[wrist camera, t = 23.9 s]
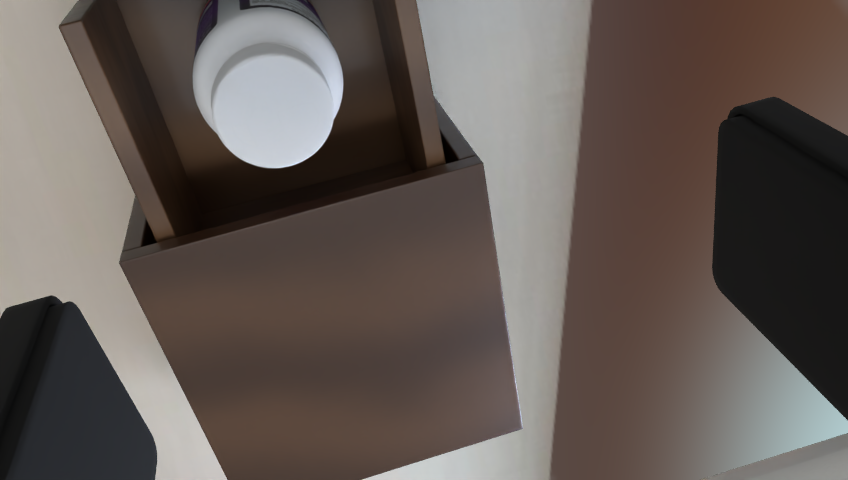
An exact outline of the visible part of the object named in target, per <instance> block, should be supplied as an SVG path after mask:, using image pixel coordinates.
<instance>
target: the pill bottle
mask: <svg viewBox="0 0 848 480" xmlns="http://www.w3.org/2000/svg"><path fill="white" fill-rule="evenodd" d="M193 91H194V96H195V99H196V103H197V105H198V108H199V110H200V112H201V114H202V116H203V117H204V119H205V121H206V122H207V123H208V125H209V126H210V127H211V128H212V129H213V130H214V131H215V132H216V133H217V134H218V136H219V138H220V139H221V141H222V142H223V144H224V145H225V146H226V147H227V148H228V149H229V150H230V151H231V152H232V153H233V154H234V155H235V156H237V157H238V158H240V159H241V160H243V161H245V162H247V163H250V164H252V165H255V166H259V167H265V168H283V167H288V166H292V165H295V164H298V163H300V162H303V161H304V160H306V159H308V158H309V157H311V156H312V155H313V154H315V153H316V152H317V151H318V150H319V149H320V148H321V147H322V145H323V144H324V142H325V141H326V139H327V138H328V136H329V134H330V131H331V128H332V125H333V120H334V118H335V117H336V114H337V112H338V110H339V107H340V104H341V100H342V95H343V73H342V68H341V64H340V61H339V58H338V55H337V52H336V50H335V48H334V46H333V44H332V42H331V40H330V38H329V36H328V34H327V32H326V30H325V28H324V25H323V23H322V21H321V19H320V17H319V15H318V13H317V11H316V10H315V8H314V7H313V5H312V4H311V2H310V1H309V0H208V2H207V3H206V5H205V7H204V9H203V11H202V13H201V16H200V19H199V23H198V28H197V37H196V47H195V55H194V63H193Z"/></svg>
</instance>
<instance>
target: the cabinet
mask: <svg viewBox="0 0 848 480" xmlns="http://www.w3.org/2000/svg"><path fill="white" fill-rule="evenodd" d="M434 102H435V107H436V113H437V118H438V124H439V129H440V135H441V140H442V146H443V151H444V157H445V162H446V164H444V165H441V166H437V167H433V168H430V169H426V170H422V171H419V172H415V173H411V174H408V175H404V176H400V177H397V178H393V179H389V180H386V181H382V182H378V183H375V184H371V185H367V186H364V187H360V188H356V189H353V190H349V191H345V192H342V193H338V194H334V195H331V196H327V197H323V198H320V199H316V200H312V201H309V202H305V203H301V204H298V205H294V206H290V207H287V208H283V209H279V210H276V211H272V212H268V213H265V214H261V215H257V216H254V217H250V218H246V219H243V220H239V221H235V222H232V223H228V224H224V225H221V226H217V227H213V228H210V229H206V230H202V231H199V232H195V233H191V234H188V235H184V236H180V237H177V238H173V239H169V240H166V241H162V242H158V243H157V241H156V239H155V237H154V235H153V232H152V230H151V228H150V226H149V224H148V222H147V219H146V217H145V215H144V213H143V211H142V208H141V206H140V204H139V202H138V200H137V197H136V195H135V199H134V204H133V208H132V212H131V216H130V220H129V225H128V229H127V233H126V237H125V241H124V246H123V250H122V253H121V257H120V261H119V264H120V266H121V268H122V270H123V272H124V274H125V276H126V278H127V280H128V282H129V284H130V286H131V288H132V290H133V292H134V294H135V296H136V298H137V300H138V302H139V304H140V306H141V308H142V310H143V312H144V314H145V316H146V318H147V320H148V322H149V324H150V326H151V328H152V330H153V332H154V334H155V336H156V338H157V340H158V342H159V344H160V346H161V348H162V350H163V352H164V354H165V356H166V358H167V360H168V362H169V364H170V366H171V368H172V370H173V372H174V374H175V376H176V378H177V380H178V382H179V384H180V386H181V388H182V390H183V392H184V394H185V396H186V398H187V400H188V402H189V404H190V406H191V408H192V410H193V412H194V413H195V415H196V417H197V419H198V421H199V423H200V425H201V427H202V429H203V431H204V433H205V435H206V437H207V439H208V441H209V443H210V445H211V447H212V449H213V451H214V453H215V455H216V457H217V459H218V461H219V463H220V465H221V467H222V469H223V471H224V473H225V475H226V477H227V479H228V480H362V479H365V478H368V477H371V476H374V475H377V474H381V473H384V472H387V471H390V470H393V469H397V468H400V467H403V466H406V465H409V464H412V463H416V462H419V461H422V460H425V459H428V458H431V457H435V456H438V455H441V454H444V453H447V452H450V451H454V450H457V449H460V448H463V447H466V446H469V445H473V444H476V443H479V442H482V441H485V440H488V439H492V438H495V437H498V436H501V435H504V434H508V433H511V432H514V431H517V430H520V429H523V426H522V419H521V412H520V406H519V399H518V392H517V386H516V379H515V372H514V366H513V359H512V352H511V346H510V339H509V332H508V326H507V319H506V312H505V306H504V299H503V292H502V286H501V279H500V272H499V266H498V259H497V252H496V246H495V239H494V232H493V226H492V219H491V212H490V206H489V199H488V192H487V186H486V179H485V172H484V166H483V163H482V161H481V160H480V158H479V157H478V156H477V155H476V153H475V152H474V151H473V149H472V148H471V147H470V145H469V144H468V142H467V141H466V140H465V138H464V137H463V136H462V134H461V133H460V131H459V130H458V129H457V127H456V126H455V125H454V123H453V122H452V120H451V119H450V118H449V116H448V115H447V114H446V112H445V111H444V109H443V108H442V107H441V105H440V104H439V103H438V101H437V100H436V99H435V97H434Z"/></svg>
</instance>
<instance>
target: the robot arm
mask: <svg viewBox="0 0 848 480" xmlns="http://www.w3.org/2000/svg"><path fill="white" fill-rule="evenodd" d="M717 155H718V156H717V176H716V198H715V220H714V242H713V264H712V268H713V276H714V280H715V282H716V285H717V286H718V288H719V290H720V291H721V292H722V293H723V294H724V295H725V296H726V297H727V298H728V299H729V300H730V302H732V304H734V306H735V307H736V308H737V309H738V310H739V311H740V312H741V313H742V314H743V315H744V316H746V318H747V319H748V320H749V321H750V322H751V323H752V324H753V325H754V326H755V327H756V328H757V329H758V330H759V331H760V332H761V333H762V334H763V335H764V336H765V337H766V338H767V339H768V340H769V341H770V342H771V343H772V344H773V345H774V346H775V347H776V348H777V349H778V350H779V351H780V352H781V353H782V354H783V355H784V356H785V357H786V358H787V359H788V360H789V361H790V362H791V363H792V364H793V365H794V366H795V367H796V368H797V369H798V370H799V371H800V372H801V373H802V374H803V375H804V376H805V377H806V378H807V380H809V382H811V384H812V385H813V386H814V387H815V388H816V389H817V390H818V391H819V392H820V393H821V394H822V395H823V396H824V397H825V398H826V399H827V400H828V401H829V402H830V403H831V404H832V405H833V406H834V407H835V408H836V409H837V410H838V411H839V412H840V413H841V414H842V415H843V416H844V417H845V418H846V419H847V420H848V136H847V135H845V134H843V133H841V132H840V131H838V130H836V129H834V128H832V127H831V126H829V125H827V124H825V123H823V122H821V121H819V120H818V119H815V118H814V117H812V116H810V115H809V114H807V113H805V112H803V111H801V110H799V109H798V108H796V107H794V106H792V105H790V104H789V103H787V102H785V101H783V100H781V99H779V98H776V97H770V98H766V99H762V100H759V101H755V102H752V103H748V104H745V105H741V106H737V107H734V108H733V109H732V110H731V111H730V113H729V115H728V119H727V120H724V121H723V122H722V123H721V125H720V127H719V132H718V154H717ZM156 465H157V450H156V445H155V442H154V439H153V436H152V434H151V432H150V431H149V429H148V427H147V425H146V424H145V422H144V420H143V419H142V417H141V415H140V413H139V412H138V410H137V408H136V406H135V405H134V403H133V401H132V399H131V398H130V396H129V394H128V393H127V391H126V389H125V387H124V386H123V384H122V382H121V380H120V379H119V377H118V375H117V374H116V372H115V370H114V368H113V367H112V365H111V363H110V361H109V360H108V358H107V356H106V355H105V353H104V351H103V349H102V348H101V346H100V344H99V342H98V341H97V339H96V337H95V335H94V334H93V332H92V330H91V329H90V327H89V325H88V323H87V322H86V320H85V318H84V316H83V315H82V313H81V311H80V310H79V308H78V307H77V305H75V304H74V303H73V302H70V301H69V302H66V303H62V302H61V301H60V300H59V299H58V298H57V297H55V296H48V297H44V298H40V299H37V300H33V301H29V302H26V303H22V304H18V305H15V306H11V307H9V308H6V310H5V311H4V312H3V314H2V316H1V318H0V480H155V474H156ZM701 480H848V433H847V434H844V435H840V436H837V437H834V438H831V439H828V440H825V441H821V442H818V443H815V444H812V445H809V446H806V447H802V448H799V449H796V450H793V451H790V452H787V453H783V454H780V455H777V456H774V457H771V458H768V459H764V460H761V461H758V462H755V463H752V464H749V465H745V466H742V467H739V468H736V469H733V470H729V471H726V472H723V473H720V474H717V475H714V476H711V477H707V478H704V479H701Z"/></svg>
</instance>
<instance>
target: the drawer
mask: <svg viewBox="0 0 848 480" xmlns="http://www.w3.org/2000/svg"><path fill="white" fill-rule="evenodd" d="M309 1H310V2H311V4H312V5H313V7H314V8H315V10H316V11H317V13H318V15H319V17H320V19H321V21H322V23H323V25H324V28H325V30H326V32H327V34H328V36H329V38H330V40H331V42H332V44H333V46H334V48H335V50H336V52H337V55H338V58H339V61H340V64H341V68H342V73H343V95H342V100H341V104H340V107H339V110H338V112H337V114H336V117H335V118H334V120H333V125H332V128H331V131H330V134H329V136H328V138H327V139H326V141H325V142H324V144H323V145H322V147H321V148H320V149H319V150H318V151H317V152H316V153H315V154H313V155H312V156H311V157H309V158H308V159H306V160H304V161H303V162H300V163H298V164H295V165H292V166H288V167H283V168H265V167H259V166H255V165H252V164H250V163H247V162H245V161H243V160H241V159H240V158H238V157H237V156H235V155H234V154H233V153H232V152H231V151H230V150H229V149H228V148H227V147H226V146H225V145H224V144H223V142H222V141H221V139H220V138H219V136H218V134H217V133H216V132H215V131H214V130H213V129H212V128H211V127H210V126H209V125H208V123H207V122H206V121H205V119H204V117H203V116H202V114H201V112H200V110H199V108H198V105H197V103H196V99H195V96H194V91H193V63H194V55H195V47H196V37H197V28H198V23H199V19H200V16H201V13H202V11H203V9H204V7H205V5H206V3H207V2H208V0H79V1H78V2H77V3H76V4H75V6H74V7H73V8H72V9H71V11H70V12H69V13H68V15H67V16H66V17H65V18H64V20H63V21H62V22H61V24H60V25H59V29H60V31H61V33H62V35H63V38H64V40H65V42H66V44H67V46H68V49H69V51H70V53H71V55H72V57H73V60H74V62H75V64H76V66H77V68H78V71H79V73H80V75H81V77H82V79H83V81H84V84H85V86H86V88H87V90H88V92H89V95H90V97H91V99H92V101H93V103H94V106H95V108H96V110H97V112H98V114H99V116H100V119H101V121H102V123H103V125H104V127H105V130H106V132H107V134H108V136H109V138H110V141H111V143H112V145H113V147H114V149H115V151H116V154H117V156H118V158H119V160H120V162H121V165H122V167H123V169H124V171H125V173H126V176H127V178H128V180H129V182H130V184H131V187H132V189H133V191H134V193H135V195H136V197H137V200H138V202H139V204H140V206H141V208H142V211H143V213H144V215H145V217H146V219H147V222H148V224H149V226H150V228H151V230H152V232H153V235H154V237H155V239H156V241H157V243H158V242H162V241H166V240H169V239H173V238H177V237H180V236H184V235H188V234H191V233H195V232H199V231H202V230H206V229H210V228H213V227H217V226H221V225H224V224H228V223H232V222H235V221H239V220H243V219H246V218H250V217H254V216H257V215H261V214H265V213H268V212H272V211H276V210H279V209H283V208H287V207H290V206H294V205H298V204H301V203H305V202H309V201H312V200H316V199H320V198H323V197H327V196H331V195H334V194H338V193H342V192H345V191H349V190H353V189H356V188H360V187H364V186H367V185H371V184H375V183H378V182H382V181H386V180H389V179H393V178H397V177H400V176H404V175H408V174H411V173H415V172H419V171H422V170H426V169H430V168H433V167H437V166H441V165H444V164H446V162H445V157H444V151H443V146H442V140H441V135H440V129H439V124H438V118H437V113H436V107H435V102H434V96H433V91H432V85H431V80H430V74H429V69H428V63H427V58H426V52H425V47H424V41H423V36H422V30H421V25H420V19H419V14H418V8H417V3H416V0H309Z"/></svg>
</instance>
